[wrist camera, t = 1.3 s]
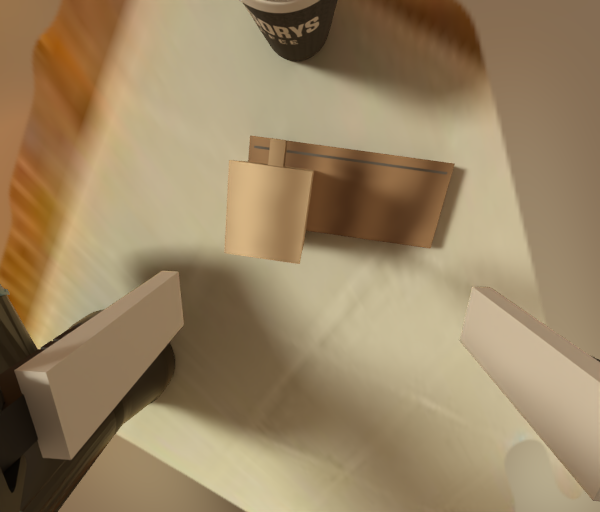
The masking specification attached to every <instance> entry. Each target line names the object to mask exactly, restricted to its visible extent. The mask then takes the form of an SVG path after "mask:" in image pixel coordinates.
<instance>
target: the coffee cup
mask: <svg viewBox="0 0 600 512" xmlns="http://www.w3.org/2000/svg"><path fill="white" fill-rule="evenodd" d="M240 1H241V2H243V4H244V5H245V7H246V8H247V10H248V12H249V13H250V15H251V16H252V18H253V19H254V21H255V22H256V24H257V26H258V27H259V29H260V30H261V32H262V33H263V35H264V36H265V38H266V40H267V41H268V43H269V44H270V46H271V47H272V49H273V50H274V51H275V52H276V53H277V54H278V55H280V56H281V57H283V58H285V59H287V60H291V61H302V60H306V59H308V58H310V57H312V56H313V55H315V54H316V53H317V52H318V51H319V50H320V49H321V47H322V46H323V44H324V43H325V41H326V39H327V36H328V33H329V30H330V26H331V22H332V18H333V15H334V11H335V7H336V3H337V0H240Z"/></svg>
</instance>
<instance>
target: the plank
mask: <svg viewBox="0 0 600 512" xmlns="http://www.w3.org/2000/svg"><path fill="white" fill-rule="evenodd" d="M270 139H271V138H264V137H256V136H250V146H249V160H248V162H258V163H265V164H268V161H269V150H270ZM285 166H287V167H294V168H301V169H309V170H314V175H313V182H312V189H311V196H310V203H309V210H308V218H307V225H306V231H313V232H320V233H327V234H334V235H341V236H348V237H355V238H362V239H369V240H376V241H383V242H390V243H397V244H404V245H411V246H418V247H425V248H431V244H432V241H433V237H434V234H435V230H436V227H437V223H438V220H439V217H440V213H441V210H442V206H443V203H444V199H445V196H446V192H447V189H448V185H449V182H450V178H451V175H452V171H453V168H454V164H453V163H445V162H438V161H431V160H423V159H416V158H409V157H402V156H394V155H387V154H380V153H373V152H365V151H358V150H351V149H344V148H336V147H329V146H322V145H315V144H307V143H300V142H293V141H287V151H286V160H285Z"/></svg>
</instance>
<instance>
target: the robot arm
mask: <svg viewBox="0 0 600 512" xmlns="http://www.w3.org/2000/svg"><path fill="white" fill-rule="evenodd" d="M8 294H9V291H8V290H7V289H4V288H3V287H2V286H1V284H0V512H58V510H59V509H60V508H61V506H62V505H63V503H64V502H65V501H66V500H67V498H68V497H69V496H70V494H71V493H72V491H73V490H74V489H75V487H76V486H77V485H78V483H79V482H80V481H81V479H82V478H83V477H84V475H85V474H86V473H87V471H88V470H89V469H90V467H91V466H92V464H93V463H94V462H95V460H96V459H97V457H98V456H99V455H100V454H101V452H102V451H103V450H104V448H105V447H106V446H107V444H108V443H109V442H110V440H111V439H112V437H113V436H114V435H115V434H116V432H117V431H118V430H119V428H120V427H121V426H122V425H123V424H124V423H125V422H126V421H128V420H129V419H130V418H132V417H133V416H134V415H136V414H137V413H138V412H139V411H141V410H142V409H143V408H144V407H146V406H147V405H149V404H150V403H152V402H153V401H155V400H156V399H157V398H158V397H159V396H160V395H161V394H162V392H163V391H164V389H165V388H166V387H167V385H168V384H169V382H170V381H171V379H172V377H173V374H174V369H175V359H174V354H173V351H172V348H171V346H170V344H169V342H170V341H171V340H172V338H173V337H174V336H175V335H176V334H177V332H178V331H179V330H180V329H181V328H182V326H183V325H184V320H183V310H182V300H181V290H180V280H179V271H161V272H159V273H158V274H156V275H155V276H153V277H152V278H150V279H149V280H148V281H146V282H145V283H143V284H142V285H140V286H139V287H137V288H136V289H134V290H133V291H131V292H130V293H128V294H127V295H125V296H124V297H122V298H121V299H119V300H118V301H116V302H115V303H113V304H112V305H110V306H109V307H107V308H106V309H104V310H99V311H96V312H93V313H91V314H89V315H87V316H86V317H84V318H83V319H81V320H79V321H78V322H76V323H75V324H74V325H72V326H71V327H70V328H69V329H68V330H67V331H65V332H64V333H62V334H61V335H59V336H58V337H56V338H55V339H53V341H50V342H49V343H47V344H45V345H44V346H42V347H41V349H37V347H36V346H35V344H34V342H33V341H32V339H31V337H30V335H29V334H28V332H27V330H26V328H25V327H24V325H23V323H22V321H21V320H20V318H19V316H18V314H17V312H16V311H15V309H14V307H13V305H12V304H11V302H10V300H9V298H8V296H7V295H8ZM459 341H460V342H461V343H462V344H463V346H464V347H465V348H466V349H467V350H468V351H469V353H470V354H471V355H472V356H473V357H474V359H475V360H476V361H477V362H478V363H479V365H480V366H481V367H482V368H483V369H484V371H485V372H486V373H487V374H488V375H489V377H490V378H491V379H492V380H493V381H494V383H495V384H496V385H497V386H498V387H499V389H500V390H501V391H502V392H503V393H504V395H505V396H506V397H507V398H508V399H509V401H510V402H511V403H512V404H513V405H514V407H515V408H516V409H517V410H518V411H519V413H520V414H521V415H522V416H523V417H524V419H525V420H526V421H527V422H528V423H529V424H530V426H531V427H532V428H533V429H534V430H535V432H536V433H537V434H538V435H539V436H540V438H541V439H542V440H543V441H544V442H545V444H546V445H547V446H548V447H549V448H550V450H551V451H552V452H553V453H554V454H555V456H556V457H557V458H558V459H559V460H560V462H561V463H562V464H563V465H564V466H565V468H566V469H567V470H568V471H569V472H570V474H571V475H572V476H573V477H574V478H575V480H576V481H577V482H578V483H579V484H580V486H581V487H582V488H583V489H584V490H585V491H586V493H587V494H588V495H589V496H590V497H591V499H592V500H593V501H600V360H599V359H596V358H594V357H592V356H590V355H589V354H587V353H586V352H584V351H583V350H581V349H580V348H578V347H577V346H575V345H574V344H572V343H571V342H570V341H568V340H567V339H565V338H564V337H562V336H561V335H559V334H558V333H556V332H555V331H553V330H552V329H550V328H549V327H548V326H546V325H545V324H543V323H542V322H540V321H539V320H537V319H536V318H534V317H533V316H531V315H530V314H528V313H527V312H526V311H524V310H523V309H521V308H520V307H518V306H517V305H515V304H514V303H512V302H511V301H509V300H508V299H507V298H505V297H504V296H502V295H501V294H499V293H498V292H496V291H495V290H493V289H492V288H490V287H473V286H472V290H471V294H470V298H469V303H468V307H467V311H466V315H465V319H464V324H463V328H462V332H461V336H460V340H459Z"/></svg>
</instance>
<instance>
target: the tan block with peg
mask: <svg viewBox="0 0 600 512" xmlns="http://www.w3.org/2000/svg"><path fill="white" fill-rule="evenodd" d="M286 151H287V141H286V140H280V139H273V138H271V139H270V150H269V161H268V164H265V163H258V162H245V161H232V160H229V175H228V194H227V214H226V233H225V252H224V253H228V254H235V255H242V256H249V257H256V258H263V259H270V260H276V261H283V262H290V263H297V264H300V259H301V253H302V250H303V245H304V240H305V233H306V225H307V218H308V210H309V203H310V196H311V189H312V182H313V175H314V170H309V169H301V168H294V167H287V166H285V160H286Z"/></svg>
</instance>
